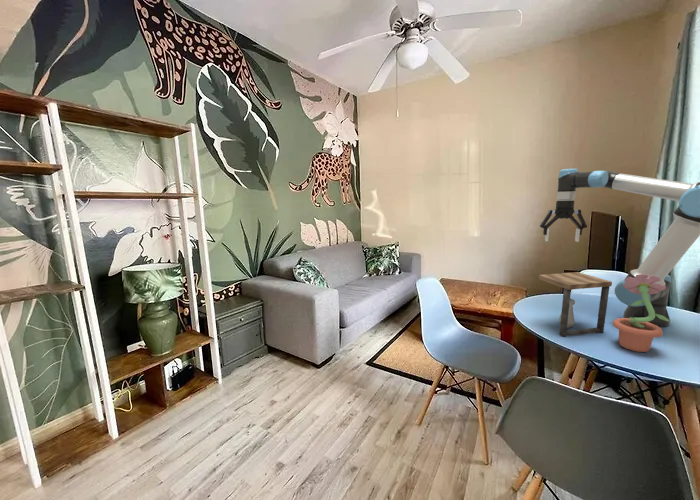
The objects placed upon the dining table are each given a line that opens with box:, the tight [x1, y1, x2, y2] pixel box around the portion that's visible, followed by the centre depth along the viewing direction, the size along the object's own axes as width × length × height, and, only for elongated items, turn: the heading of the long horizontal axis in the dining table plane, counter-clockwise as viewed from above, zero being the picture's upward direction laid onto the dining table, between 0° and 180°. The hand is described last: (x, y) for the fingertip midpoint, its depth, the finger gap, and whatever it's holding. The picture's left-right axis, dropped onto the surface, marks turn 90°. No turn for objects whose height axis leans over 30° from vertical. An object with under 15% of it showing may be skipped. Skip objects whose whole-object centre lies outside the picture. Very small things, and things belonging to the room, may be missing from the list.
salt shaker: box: [558, 297, 576, 329], centre depth 133 cm, size 6×6×13 cm
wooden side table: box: [538, 271, 613, 338], centre depth 131 cm, size 20×16×23 cm
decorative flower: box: [612, 274, 671, 353], centre depth 111 cm, size 15×14×30 cm
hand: (561, 241), depth 153 cm, fingers open, 13 cm apart
